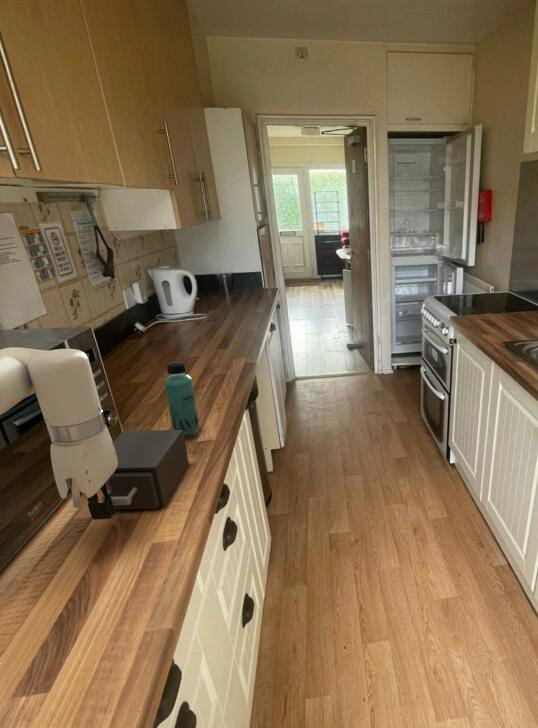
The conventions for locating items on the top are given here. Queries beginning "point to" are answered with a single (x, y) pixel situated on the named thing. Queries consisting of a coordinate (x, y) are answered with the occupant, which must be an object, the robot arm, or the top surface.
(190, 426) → the beverage bottle
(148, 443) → the drawer cabinet
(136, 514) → the top surface
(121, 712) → the top surface
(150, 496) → the drawer
